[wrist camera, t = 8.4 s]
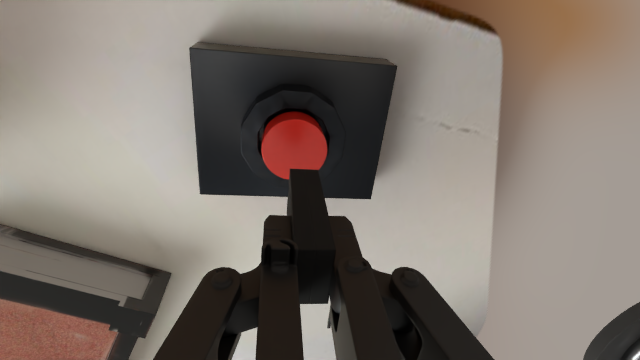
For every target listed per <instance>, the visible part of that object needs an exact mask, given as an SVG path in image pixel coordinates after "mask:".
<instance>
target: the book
mask: <svg viewBox="0 0 640 360" xmlns="http://www.w3.org/2000/svg"><path fill="white" fill-rule="evenodd" d="M170 276H171V273H168V272H164V271H161V270H157V269H154V268H150V267H147V266H143V265H140V264H136V263H133V262H129V261H126V260H122V259H119V258H115V257H112V256H108V255H105V254H102V253H98V252H95V251H91V250H88V249H84V248H81V247H77V246H74V245H70V244H67V243H63V242H60V241H56V240H53V239H49V238H46V237H42V236H39V235H35V234H32V233H28V232H25V231H22V230H18V229H15V228H11V227H8V226H4V225H1V224H0V360H128V359H129V356H130V354H131V352H132V350H133V347H134V345H135V343H136V341H137V339H138V337H141V338H145V337H146V335H147V333H148V331H149V329H150V327H151V324H152V322H153V320H154V318H155V316H156V313H157V311H158V308H159V305H160V302H161V300H162V297H163V294H164V292H165V289H166V286H167V284H168V281H169V278H170Z"/></svg>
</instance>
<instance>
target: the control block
mask: <svg viewBox="0 0 640 360" xmlns="http://www.w3.org/2000/svg"><path fill="white" fill-rule="evenodd" d="M189 49H190V63H191V77H192V90H193V104H194V118H195V132H196V146H197V160H198V174H199V187H200V194H209V195H244V196H279V197H288V189H289V179H284V178H281V177H279V176H277V175H275V174H274V173H273V172H271V171H270V170H269V169H268V167H267V166H266V165H265V163H264V161H263V158H262V152H261V148H262V137H263V132H264V130H265V128H266V126H267V124H268V123H269V122H270V121H271V120H272V119H273V118H274V117H276V116H278V115H279V114H282V113H285V112H291V111H297V112H302V113H305V114H308V115H310V116H311V117H313V118H314V119H315V120H316V121H317V122H318V123H319V124H320V126H321V128H322V130H323V133H324V136H325V139H326V142H327V156H326V159H325V161H324V163H323V165H322V166H321V168H320V169H319V170H318V172H319V176H320V180H321V185H322V189H323V194H324V198H350V199H371V195H372V190H373V185H374V180H375V175H376V170H377V165H378V160H379V155H380V150H381V145H382V140H383V135H384V130H385V125H386V120H387V115H388V110H389V105H390V100H391V95H392V90H393V85H394V80H395V75H396V70H397V66H396V65H395V64H393V63H391V62H390V61H388V60H387V59H378V58H367V57H356V56H345V55H333V54H322V53H311V52H300V51H289V50H278V49H267V48H256V47H245V46H234V45H223V44H212V43H200V42H198V43H196V44H195V45H193V46H192V47H190V48H189Z"/></svg>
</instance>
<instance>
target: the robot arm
mask: <svg viewBox="0 0 640 360" xmlns="http://www.w3.org/2000/svg"><path fill="white" fill-rule="evenodd" d="M329 296H330V302H331V306H330V312H329V319H328V326H327V328H330V326H331V328H332V334H333V340H334V347H335V353H336V360H494V359H493V358H492V356H491V355H490V354H489V353H488V352H487V351H486V349H485V348H484V347H483V346H482V345H481V343H480V342H479V341H478V340H477V339H476V337H475V336H474V335H473V334H472V333H471V331H470V330H469V329H468V328H467V327H466V325H465V324H464V323H463V322H462V321H461V319H460V318H459V317H458V316H457V315H456V313H455V312H454V311H453V310H452V309H451V307H450V306H449V305H448V304H447V303H446V301H445V300H444V299H443V298H442V297H441V296H440V294H439V293H438V292H437V291H436V290H435V288H434V287H433V286H432V285H431V284H430V282H429V281H428V280H427V279H426V278H425V276H424V275H422V274H421V273H420V272H419V271H417V270H415V269H412V268H408V267H400V268H397V269H395V270H394V271H393V273H392V275H391V274H387V273H383V272H380V271H376V270H374V269H372V268H371V265H370V264H369V262H368V261H367V260H365V259H364V258H363V257H362V254H361V251H360V248H359V245H358V242H357V238H356V235H355V232H354V229H353V226H352V223H351V222H350V221H349V220H348V219H347V218H346V217H345V216H328V211H327V207H326V203H325V198H324V194H323V189H322V185H321V180H320V176H319V172H318V170H312V169H290V174H289V189H288V204H287V216H278V215H269V216H268V218H267V219H266V220H265V222H264V235H263V246H262V255H261V263H260V264H259V266H258V267H257V268H255V269H254V270H252V271H249V272H246V273H243V274H240V273H238V272H237V271H236V270H234V269H231V268H225V267H221V268H217V269H213V270H212V271H210V272H208V273H207V274H206V275H205V276H204V277H203V279H202V281H201V282H200V284H199V285H198V287H197V289H196V290H195V292H194V294H193V295H192V297H191V298H190V300H189V302H188V303H187V305H186V307H185V308H184V310H183V311H182V313H181V315H180V316H179V318H178V320H177V321H176V323H175V325H174V326H173V328H172V329H171V331H170V333H169V334H168V336H167V338H166V339H165V341H164V342H163V344H162V346H161V347H160V349H159V351H158V352H157V354H156V356H155V357H154V359H153V360H231V359H232V357H233V354H234V352H235V349H236V347H237V344H238V341H239V339H240V336H241V332H244V331H247V330H250V329H253V328H256V327H258V328H257V345H256V360H304V357H303V343H302V329H301V315H300V304H328V300H329ZM621 360H640V338H639V339H638V340H637V341H636V342H635V343H633V344H632V345H631V346H630V347H629V348H628V350H627V351H626V352H625V353H624V355H623V356H622V358H621Z"/></svg>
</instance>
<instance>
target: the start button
mask: <svg viewBox="0 0 640 360" xmlns="http://www.w3.org/2000/svg"><path fill="white" fill-rule="evenodd" d="M261 152H262V158H263V161H264V163H265V165H266V166H267V167H268V169H269V170H270V171H271V172H273V173H274V174H275V175H277V176H279V177H281V178H284V179H289V174H290V169H312V170H319V169H320V168H321V166H322V165H323V163H324V161H325V159H326V156H327V142H326V139H325V136H324V133H323V130H322V128H321V126H320V124H319V123H318V122H317V121H316V120H315V119H314V118H313V117H311V116H310V115H308V114H305V113H302V112H297V111H291V112H285V113H282V114H279V115H278V116H276V117H274V118H273V119H272V120H271V121H270V122H269V123H268V124H267V126H266V128H265V130H264V132H263V137H262V148H261Z"/></svg>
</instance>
